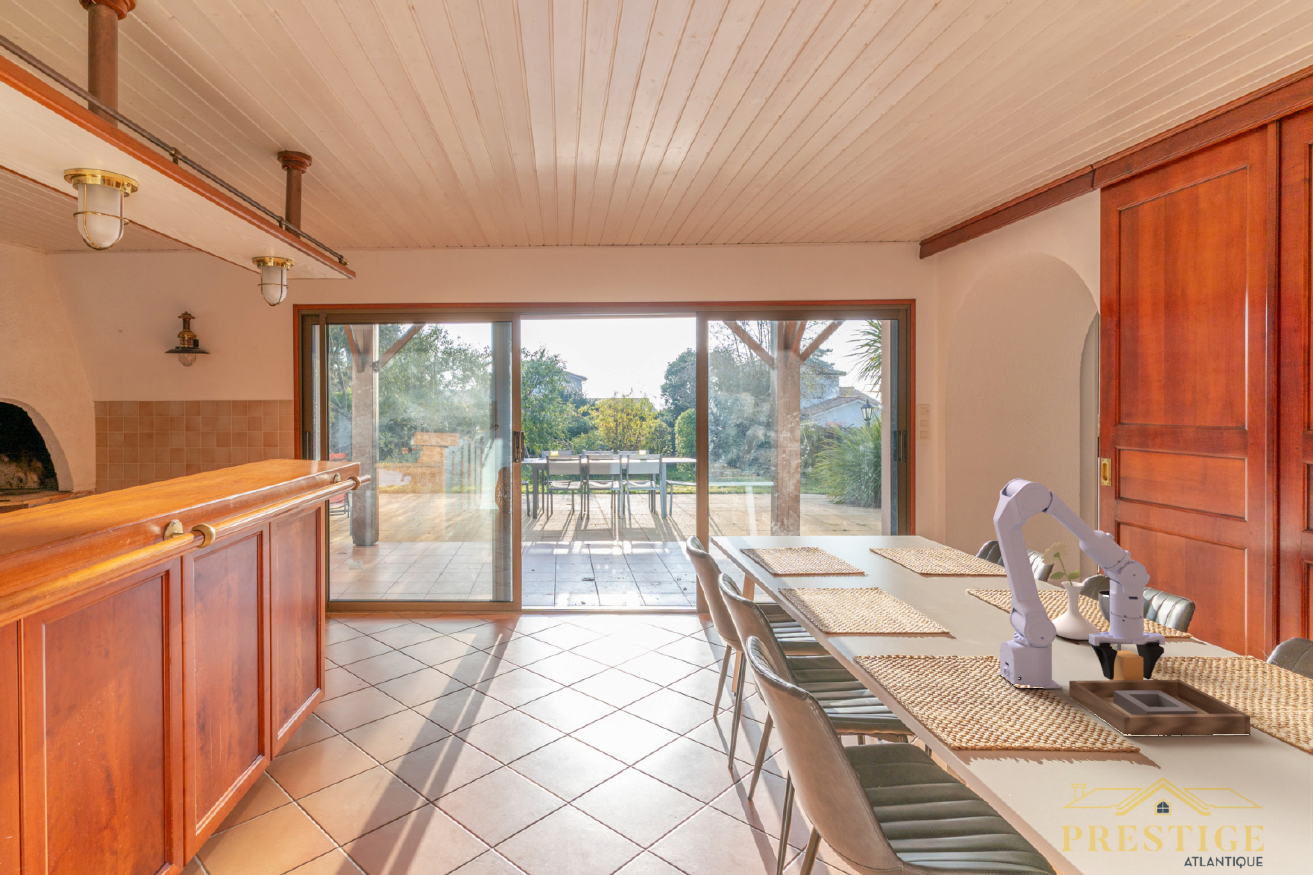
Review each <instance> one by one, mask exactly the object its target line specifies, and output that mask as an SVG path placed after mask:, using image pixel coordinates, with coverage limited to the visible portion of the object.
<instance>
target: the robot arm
mask: <svg viewBox="0 0 1313 875" xmlns="http://www.w3.org/2000/svg"><path fill="white" fill-rule="evenodd" d="M1039 513H1045V514H1048V515H1050V516H1051V517H1052V518H1053V519H1055V520H1056V521H1057V522H1058V523H1059V524H1060V525H1062V526H1063V527H1064V528H1065V529H1067V530H1068V531H1069V532H1070V534H1073V536H1075V537H1076V538H1077V539H1078V540H1079V543H1078V544H1079V545H1078V546H1079V549H1080V550H1081V551H1082V552H1083V553H1084V554H1085V555H1086V556H1087V557H1089V559H1091V560H1092V562H1095V564H1096V565H1097V566H1099V568H1101V569H1102V570H1103V573H1104V575H1105V577H1108V578H1109V589H1110V624H1109V630H1107V631H1102V632H1100V633H1095V634H1089V640H1088V643H1089V644H1090V646H1091V648H1092V649H1093V651H1094V654H1096V657H1097V659H1098V662H1099V663H1100V667H1101V671H1102V673H1103V674H1102V675H1103V677H1105V678H1107V679H1108V680H1113V679H1114V663H1115V658H1116V655H1117V653H1118V651H1116V650H1117V649H1114V648H1113V646H1111V645H1117V644H1121V645H1135V646H1136V649H1137V655H1139V656H1141V657H1143V679H1145V680H1151V678H1152V676H1153V672H1154V669H1155V667H1156V664H1157V663H1158V661H1159V659H1160V658H1161V657H1162V655H1163V654H1164V653H1165V647H1163V646H1165V645H1166V636H1165V635H1164V634H1162V633H1159V632H1149V631H1148V632H1147V631H1146V632H1144V588H1145V586H1146V585H1147V584H1148V583H1149V581H1150V579H1151V575H1150V574H1149V573H1148V572H1147V567H1146V566H1145V565H1144V564H1143V563H1141V562H1139V561H1137V560H1134V559H1133V558H1131V556H1132V553H1131V552H1130V551H1128V550H1126V549H1125V550H1124V549H1123V548H1122V547H1121V546H1120V545H1119V544H1118V543H1116V541H1115V540H1114V539H1115V536H1114V535H1113V534H1111V533H1110V532H1104V531H1103V530H1097V529H1096V530H1094V529H1092V527H1090V526H1089V524H1087V523H1086V522H1085V521H1084V520H1083V518H1081V517H1080V516H1079V515H1078V514H1077V513H1076V512H1075V511H1074V510H1073V509H1072V508H1071V507H1070V505H1068V504H1067V503H1066V502H1065V501H1064V500H1063V499H1062V498H1061V497H1060V496H1058V494H1056V492H1053V491H1051V490H1049V488H1048V487H1047V486H1046V485H1045V484H1043V483H1041V482H1036V481H1030V480H1027V479H1025V478H1022V477H1021V478H1018V477H1017V478H1014V479H1011V480H1009V481H1008V482H1007V483H1006V485H1005V486H1004V487H1003V488H1002V489H1000V491H999V500H998V502H997V505H996V509H995V512H994V515H993V519H992V522H993V527H994V530H995V535H996V538H997V542H998V546H999V550H1000V553H1001V558H1002V562H1003V565H1004V570H1005V573H1006V574H1005V575H1006V577H1007V581H1008V586H1009V589H1010V594H1011V600H1010V603H1009V604H1010V609H1011V610H1010V614H1009V623H1010V624H1011V627H1012V628H1013V629H1015V631H1014V633H1013V635H1012V637H1013V638H1012V639H1010V640H1006V641H1003V642H1001V644H1000V647H999V663H1000V664H999V665H1000V667H999V668H1000V670H999V672H998V674H999V673H1000V674H1001V675H1003V676H1004V677H1005V678H1007V679H1008V680H1009V681H1010V682H1012V683H1013V684H1021V685H1030V687H1044V688H1043V689H1062V685H1061V684H1059V683H1058V682H1056V681H1055V680H1054V679H1053V650H1052V649H1053V645H1052V643H1053V642H1054V640H1055V639H1056V636H1057V634H1056V627H1055V625H1054V624H1053V623H1052V620H1051V619H1050V617H1049V616H1048V613H1047V609H1046V608H1045V606H1044V604H1043V602H1042V600H1041V598H1040V596H1039V591H1038V587H1037V583H1036V579H1035V575H1034V572H1033V568H1032V565H1031V564H1032V563H1031V560H1030V555H1029V552H1028V547H1027V545H1026V539H1025V537H1024V532H1023V530H1022V529H1023V526H1024V525H1025V524H1026V523H1027V522H1028V521H1029V520H1030V519H1031V518H1033V517H1034V516H1035V515H1037V514H1039ZM1018 678H1020V679H1018Z"/></svg>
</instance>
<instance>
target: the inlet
mask: <svg viewBox="0 0 1313 875" xmlns="http://www.w3.org/2000/svg"><path fill="white" fill-rule="evenodd" d="M1113 696H1114V704H1116V705H1117V706H1119V707H1120V708H1122V709H1124V710H1125V711H1127V712H1128V713H1130V714H1131V715H1164V714H1197V711H1196V710H1194V709H1192V708H1191V707H1189V706H1187V705H1185V704H1184V703H1182V702H1180V701H1178V700H1176V699H1175V698H1173V697H1171V696H1169V695H1168V694H1166V693H1164V692H1162V691H1160V690H1128V691H1113Z"/></svg>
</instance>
